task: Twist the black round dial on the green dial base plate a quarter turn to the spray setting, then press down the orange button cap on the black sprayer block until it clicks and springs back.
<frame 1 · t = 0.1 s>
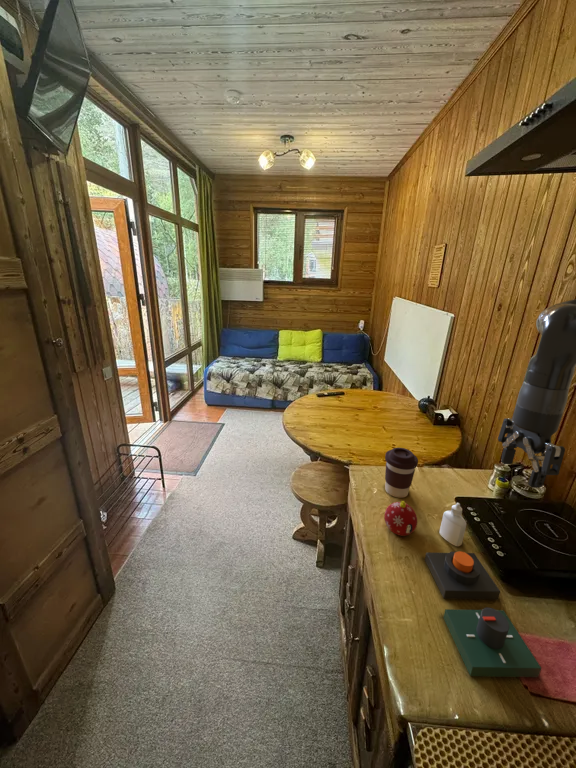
hand: (519, 474, 67), 27 cm above the kitchen counter, tool pointing down, fingers open, 8 cm apart
green dial base plate: (486, 647, 59), on the kitchen counter
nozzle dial: (492, 627, 57), point 5 cm above the kitchen counter, hinge at 0.0°
christmas ornament: (398, 531, 87), on the kitchen counter
sprayer block: (458, 580, 72), on the kitchen counter
orange button cap: (462, 561, 70), point 6 cm above the kitchen counter, slide at 0.1 cm
eye dropper bottle: (449, 540, 84), on the kitchen counter
coffee cup: (396, 492, 103), on the kitchen counter
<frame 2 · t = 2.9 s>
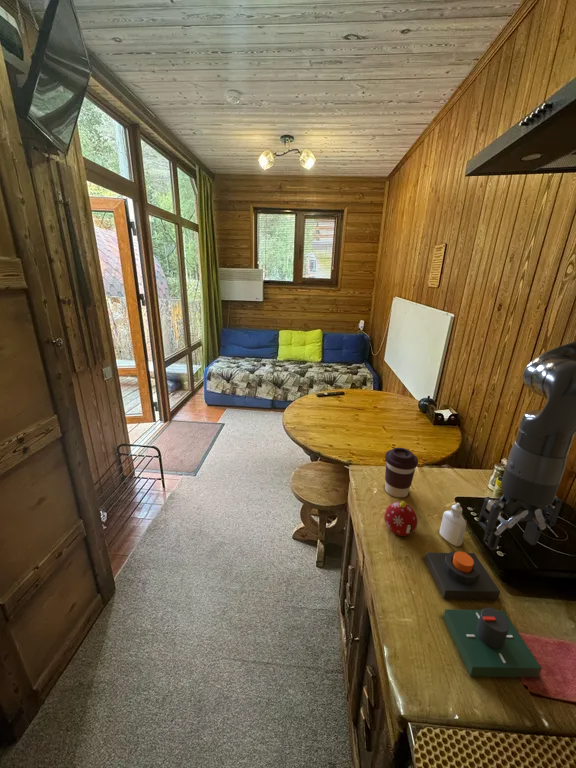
hand: (509, 543, 58), 20 cm above the kitchen counter, tool pointing down, fingers open, 8 cm apart
nothing on the kitchen counter moved.
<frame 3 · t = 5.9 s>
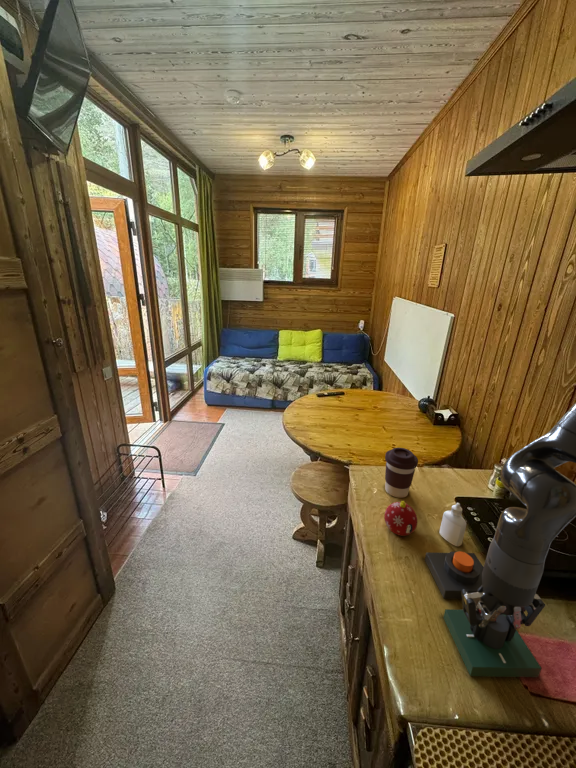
hand: (490, 635, 58), 3 cm above the kitchen counter, tool pointing down, fingers open, 4 cm apart
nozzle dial: (492, 627, 57), point 5 cm above the kitchen counter, hinge at 0.0°, touching gripper
everything else where it was.
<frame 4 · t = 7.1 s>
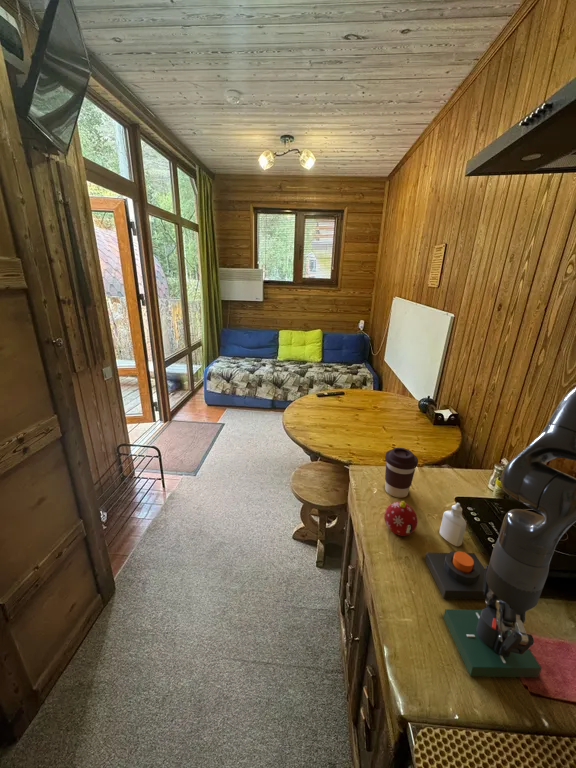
hand: (494, 636, 58), 3 cm above the kitchen counter, tool pointing down, fingers open, 4 cm apart
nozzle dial: (492, 627, 57), point 5 cm above the kitchen counter, hinge at 51.9°
everything else where it was.
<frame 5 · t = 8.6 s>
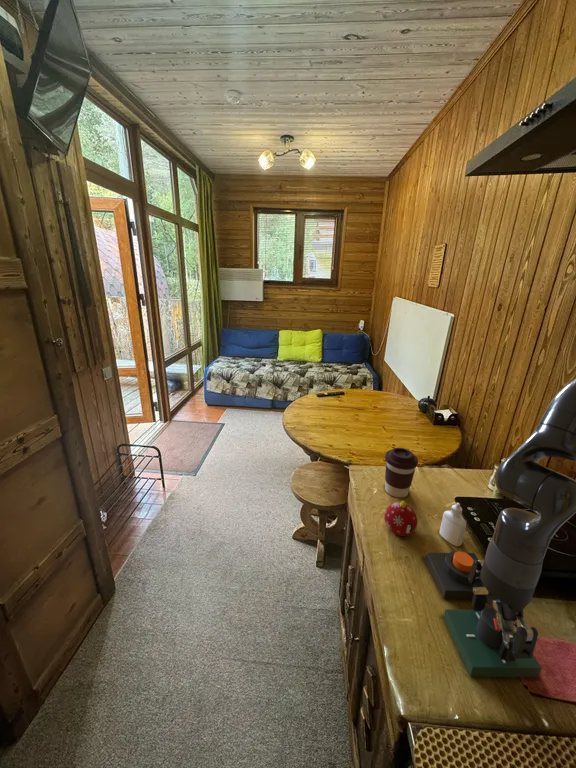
hand: (490, 631, 58), 4 cm above the kitchen counter, tool pointing down, fingers open, 8 cm apart
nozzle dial: (492, 627, 57), point 5 cm above the kitchen counter, hinge at 68.6°
everything else where it was.
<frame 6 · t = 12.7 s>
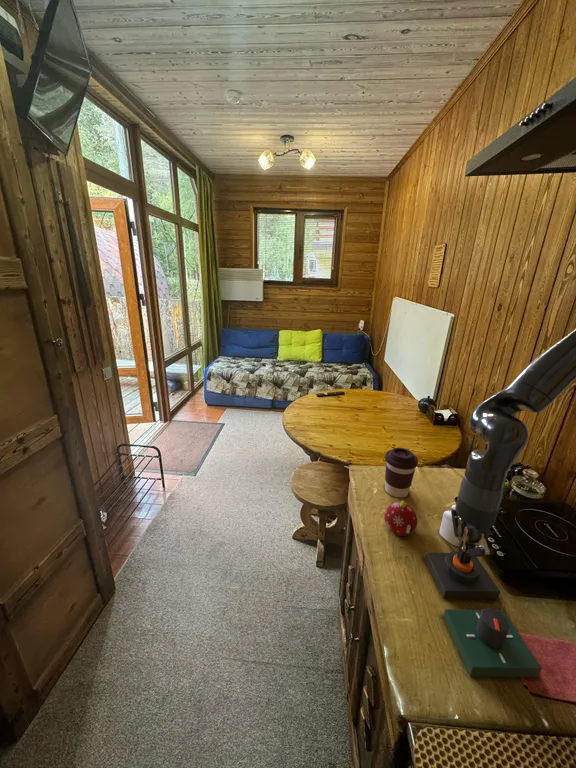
hand: (462, 560, 71), 6 cm above the kitchen counter, tool pointing down, fingers closed
orange button cap: (462, 564, 71), point 5 cm above the kitchen counter, slide at -0.7 cm, touching gripper
everything else where it was.
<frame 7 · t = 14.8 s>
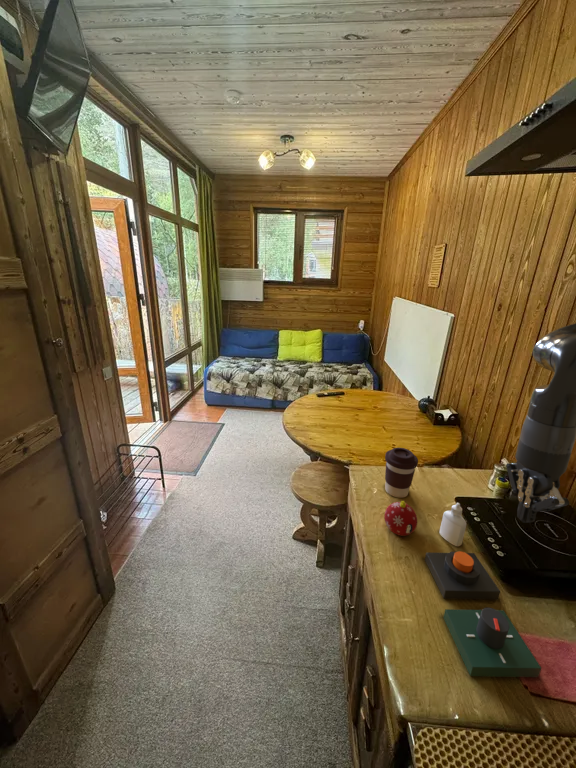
hand: (524, 519, 61), 22 cm above the kitchen counter, tool pointing down, fingers closed
orange button cap: (462, 561, 70), point 6 cm above the kitchen counter, slide at 0.1 cm
everything else where it was.
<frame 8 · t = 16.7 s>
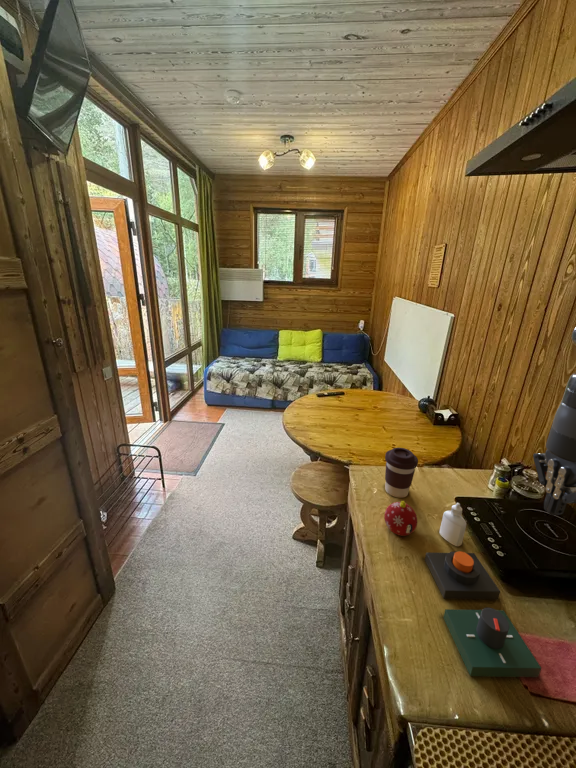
hand: (551, 512, 59), 25 cm above the kitchen counter, tool pointing down, fingers closed
nothing on the kitchen counter moved.
at the end: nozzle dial at +69° (first picture: +0°); orange button cap pushed in 1.3 cm at the most during the clip, back to where it started at the end; orange button cap slide at 0.1 cm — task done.
